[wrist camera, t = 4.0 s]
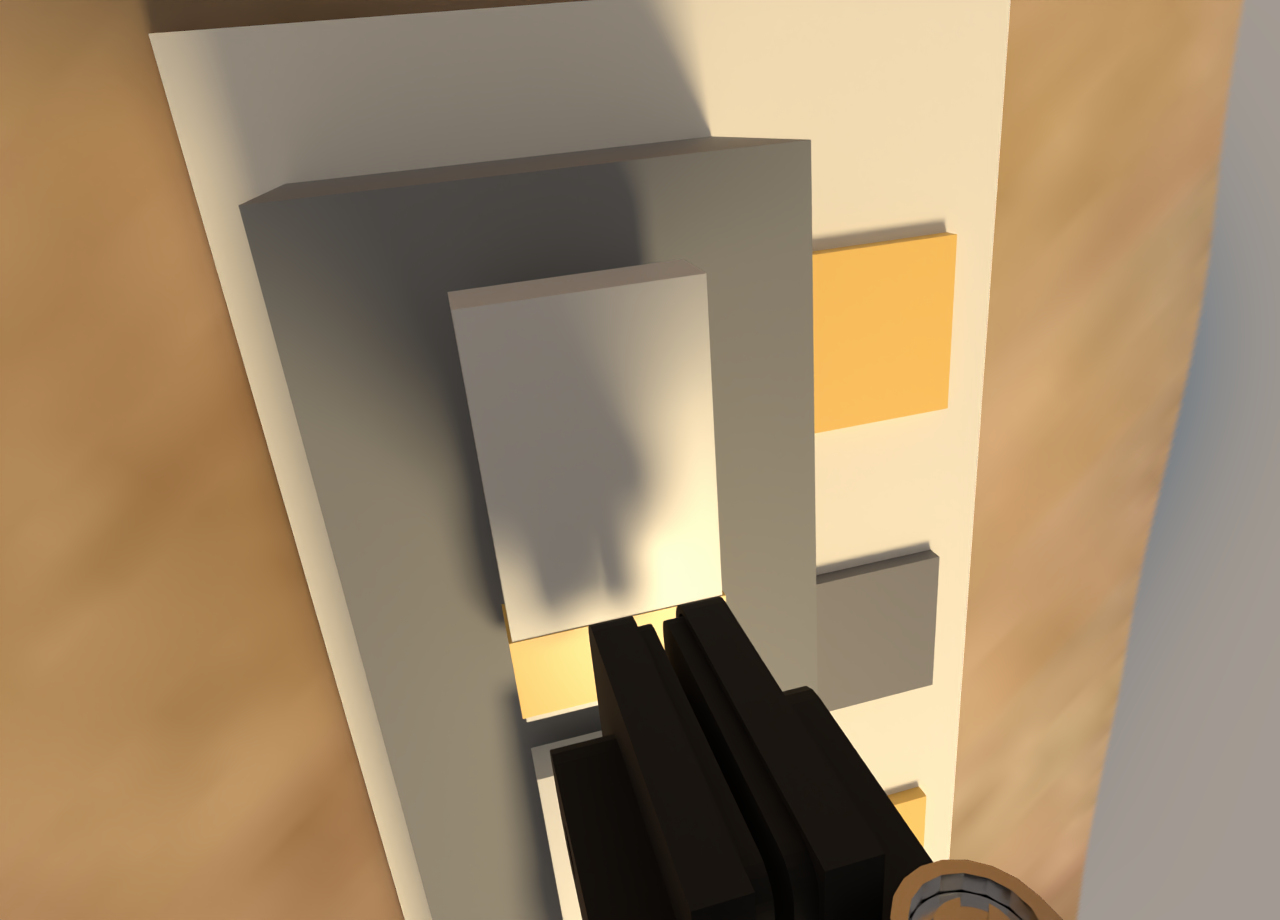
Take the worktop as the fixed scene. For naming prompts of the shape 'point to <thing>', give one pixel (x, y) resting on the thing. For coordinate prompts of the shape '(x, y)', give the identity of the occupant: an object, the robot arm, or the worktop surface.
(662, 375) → the plate
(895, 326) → the switch unit
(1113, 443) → the worktop surface
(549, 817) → the block
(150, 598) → the worktop surface
